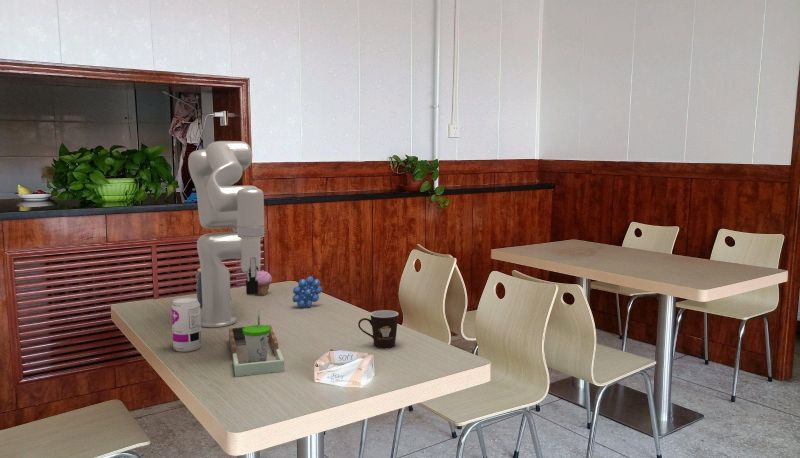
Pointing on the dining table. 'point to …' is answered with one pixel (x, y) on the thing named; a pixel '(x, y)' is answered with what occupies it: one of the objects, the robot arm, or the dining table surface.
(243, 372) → the bay
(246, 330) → the cup
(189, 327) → the supplement can
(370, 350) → the dining table surface
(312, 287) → the grapes
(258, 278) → the cupcake
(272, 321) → the dining table surface
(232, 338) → the brown wooden tray
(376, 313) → the coffee mug
